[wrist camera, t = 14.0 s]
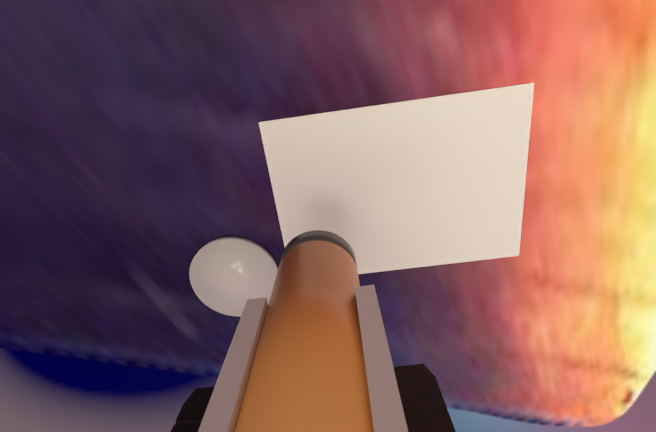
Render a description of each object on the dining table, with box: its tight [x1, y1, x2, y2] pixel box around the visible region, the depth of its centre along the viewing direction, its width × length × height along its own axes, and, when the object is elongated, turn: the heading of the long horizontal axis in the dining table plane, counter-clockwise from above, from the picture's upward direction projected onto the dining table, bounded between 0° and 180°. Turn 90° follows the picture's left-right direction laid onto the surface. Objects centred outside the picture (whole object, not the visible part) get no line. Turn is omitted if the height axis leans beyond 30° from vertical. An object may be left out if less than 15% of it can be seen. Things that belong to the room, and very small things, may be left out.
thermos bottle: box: [234, 230, 374, 432], centre depth 11 cm, size 4×4×14 cm
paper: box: [259, 83, 534, 274], centre depth 26 cm, size 20×14×1 cm
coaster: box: [189, 236, 278, 316], centre depth 29 cm, size 8×8×1 cm
